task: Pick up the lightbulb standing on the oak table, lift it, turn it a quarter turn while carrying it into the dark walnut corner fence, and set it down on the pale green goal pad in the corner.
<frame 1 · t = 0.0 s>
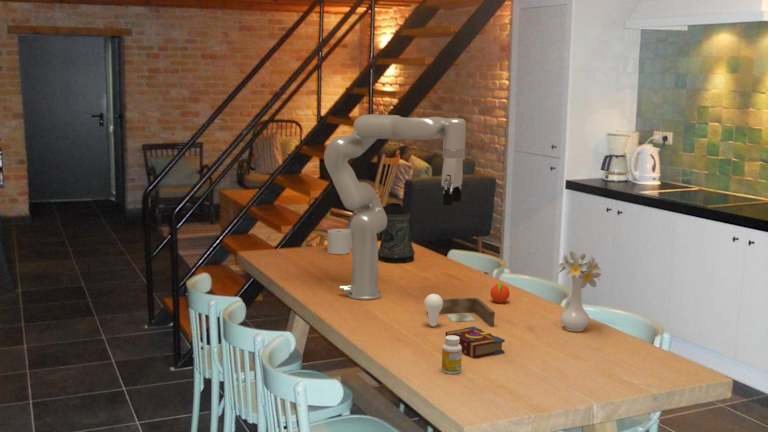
hand: (452, 203, 293), 37 cm above the table, tool pointing down, fingers open, 9 cm apart
flower vase: (576, 330, 275), on the table
decorative book: (472, 349, 255), on the table
toilet tissue: (339, 252, 388), on the table
corner fence: (458, 319, 284), on the table
clementine: (499, 303, 306), on the table
beer stein: (392, 260, 374), on the table
supplement bottle: (451, 371, 235), on the table
lightbulb: (432, 327, 275), on the table
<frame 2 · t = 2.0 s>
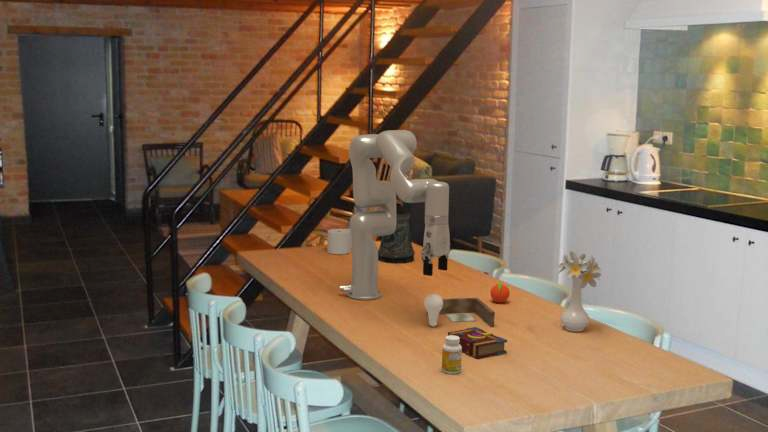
hand: (435, 272, 272), 18 cm above the table, tool pointing down, fingers open, 9 cm apart
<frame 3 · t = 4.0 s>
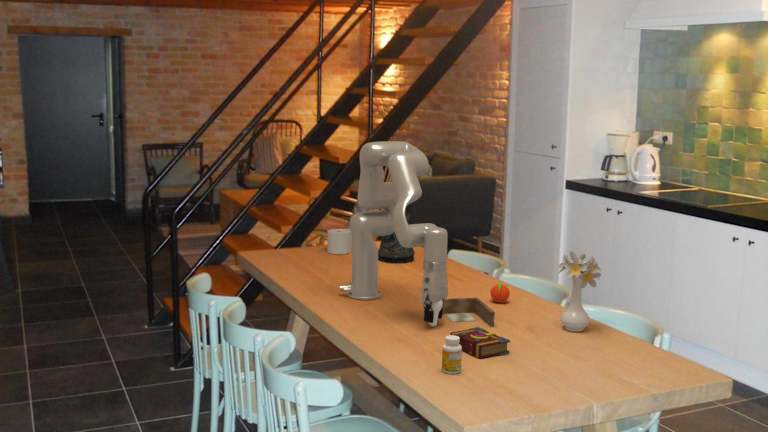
hand: (433, 319, 275), 2 cm above the table, tool pointing down, fingers closed on lightbulb, 5 cm apart
lightbulb: (432, 327, 275), on the table, touching gripper
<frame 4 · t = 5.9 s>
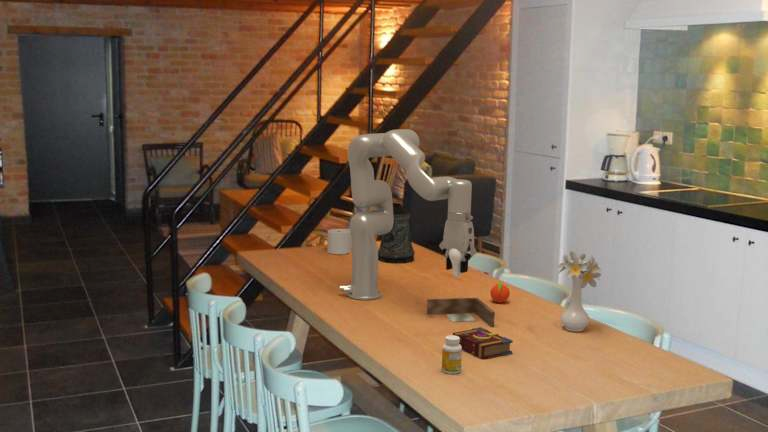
hand: (456, 270, 281), 17 cm above the table, tool pointing down, fingers closed on lightbulb, 5 cm apart
lightbulb: (456, 277, 281), point 15 cm above the table, touching gripper
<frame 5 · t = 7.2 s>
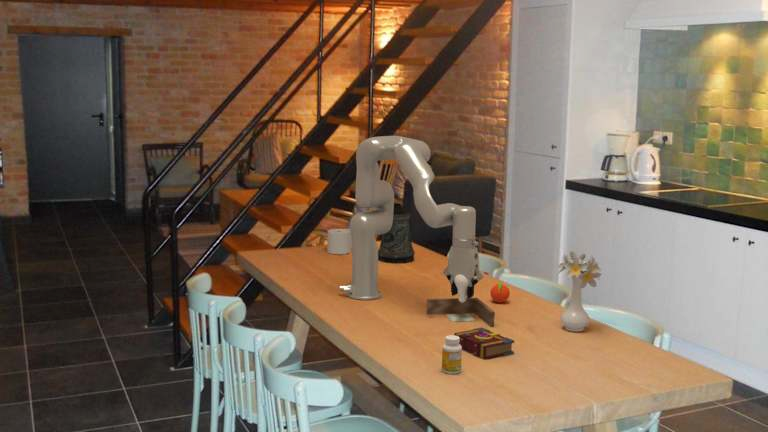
hand: (462, 295, 284), 8 cm above the table, tool pointing down, fingers closed on lightbulb, 5 cm apart
lightbulb: (462, 303, 285), point 5 cm above the table, touching gripper
when the fingers open (4 cm above the table, at t = 8.1 s): lightbulb moves 1 cm, resting on corner fence.
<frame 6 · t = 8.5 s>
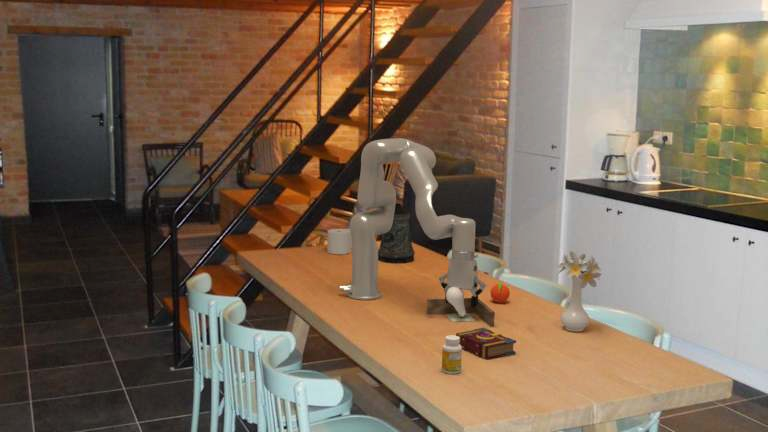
hand: (461, 304, 285), 5 cm above the table, tool pointing down, fingers open, 9 cm apart
lightbulb: (463, 316, 285), point 1 cm above the table, touching corner fence, gripper
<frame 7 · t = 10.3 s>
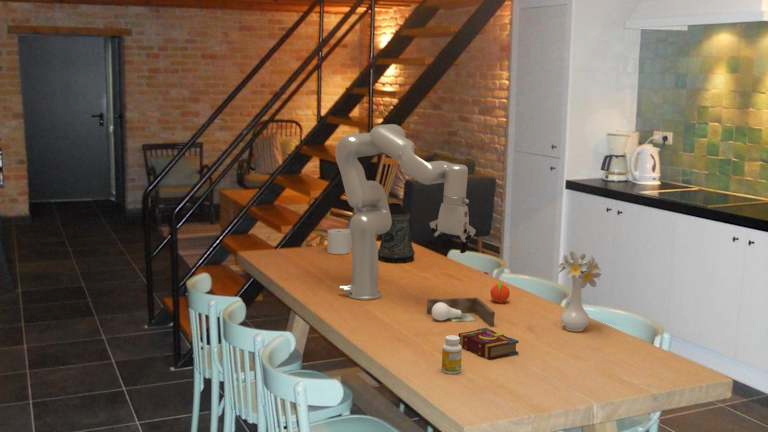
hand: (450, 250, 287), 22 cm above the table, tool pointing down, fingers open, 9 cm apart
lightbulb: (462, 314, 285), point 1 cm above the table, touching corner fence
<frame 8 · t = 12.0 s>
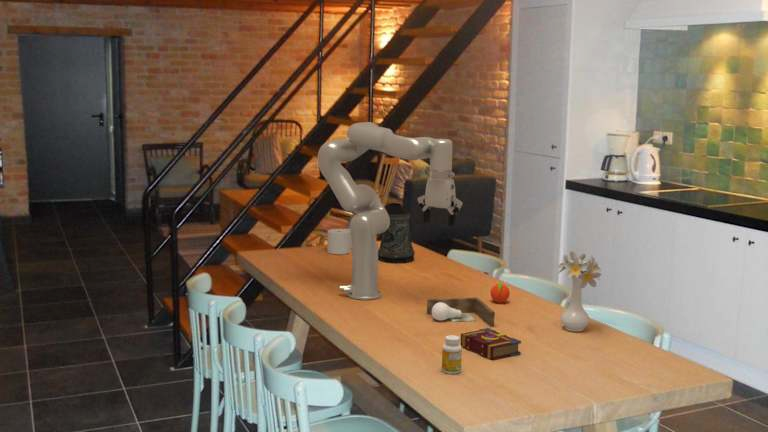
hand: (439, 223, 292), 30 cm above the table, tool pointing down, fingers open, 9 cm apart
at the end: lightbulb inside the target area on the corner fence (0.7 cm from its centre), point 1.5 cm above the corner fence's base; the gripper is holding nothing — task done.
